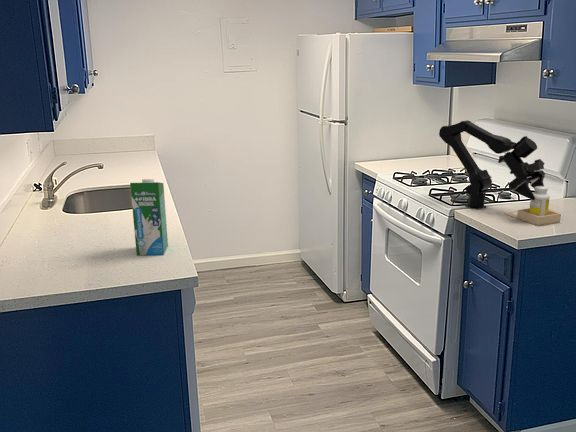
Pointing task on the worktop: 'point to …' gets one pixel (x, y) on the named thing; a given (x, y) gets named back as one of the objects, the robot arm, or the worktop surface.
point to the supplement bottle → (540, 201)
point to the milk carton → (149, 217)
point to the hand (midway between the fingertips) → (540, 197)
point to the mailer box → (536, 217)
